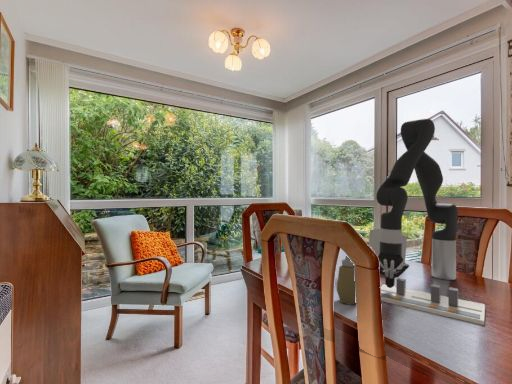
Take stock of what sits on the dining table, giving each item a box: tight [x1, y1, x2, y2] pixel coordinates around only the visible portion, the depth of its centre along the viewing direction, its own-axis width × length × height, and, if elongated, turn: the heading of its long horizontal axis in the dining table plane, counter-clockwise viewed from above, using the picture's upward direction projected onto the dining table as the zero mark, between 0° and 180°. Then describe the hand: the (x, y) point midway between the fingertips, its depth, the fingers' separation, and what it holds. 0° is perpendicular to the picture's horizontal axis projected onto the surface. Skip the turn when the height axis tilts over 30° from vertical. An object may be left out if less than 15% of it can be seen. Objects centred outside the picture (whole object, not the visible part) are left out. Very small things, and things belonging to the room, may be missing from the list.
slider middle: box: [430, 283, 442, 303], centre depth 97 cm, size 3×2×5 cm
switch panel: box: [380, 284, 486, 326], centre depth 99 cm, size 16×32×2 cm, turn 51°
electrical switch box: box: [368, 228, 408, 271], centre depth 147 cm, size 15×15×20 cm
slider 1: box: [395, 277, 407, 295], centre depth 104 cm, size 3×2×5 cm
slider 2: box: [448, 286, 459, 306], centre depth 94 cm, size 3×2×5 cm
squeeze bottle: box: [336, 255, 355, 305], centre depth 100 cm, size 8×8×18 cm
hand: (389, 287), depth 107 cm, fingers closed
